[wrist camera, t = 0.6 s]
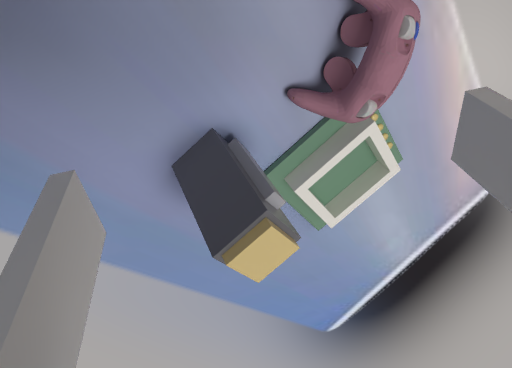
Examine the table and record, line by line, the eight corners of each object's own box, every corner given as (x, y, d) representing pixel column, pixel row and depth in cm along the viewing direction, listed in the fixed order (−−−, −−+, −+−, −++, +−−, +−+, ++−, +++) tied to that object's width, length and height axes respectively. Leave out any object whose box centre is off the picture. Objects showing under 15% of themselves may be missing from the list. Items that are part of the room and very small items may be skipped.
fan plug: (171, 165, 30) (217, 267, 22) (219, 121, 29) (283, 209, 21) (206, 191, 33) (257, 288, 25) (250, 151, 32) (316, 238, 25)
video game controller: (306, 96, 33) (376, 134, 30) (279, 100, 30) (355, 144, 27) (356, -26, 28) (444, 6, 25) (329, -38, 25) (429, -3, 22)
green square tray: (259, 175, 34) (272, 192, 32) (362, 84, 33) (381, 96, 31) (315, 227, 43) (328, 243, 41) (399, 156, 41) (415, 169, 39)
